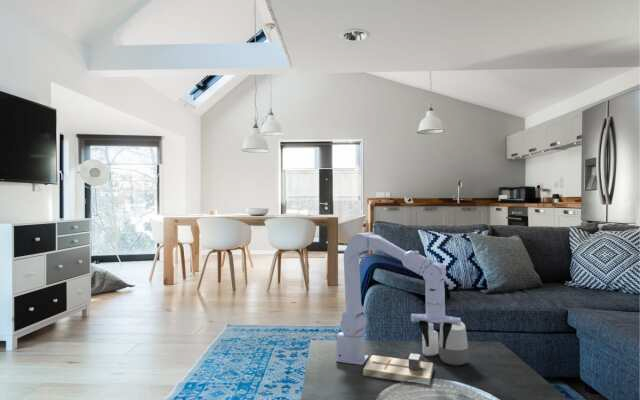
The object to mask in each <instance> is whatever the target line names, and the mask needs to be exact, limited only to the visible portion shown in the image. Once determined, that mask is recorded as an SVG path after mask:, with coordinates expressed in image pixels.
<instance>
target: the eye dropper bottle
mask: <svg viewBox="0 0 640 400" xmlns="http://www.w3.org/2000/svg"><path fill="white" fill-rule="evenodd" d="M434 325H435V324H434V323H430V322H429V328H428V334H429V347H426V342H425V338H424V336H423V333H422V332H421V333H422V334H421V340H422V341H421V342H422V348H421V351H422V354H423V355H424V356H426V357H431V356H436V355H438V354H439V332H438V331H436V330H435V329H434Z"/></svg>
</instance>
